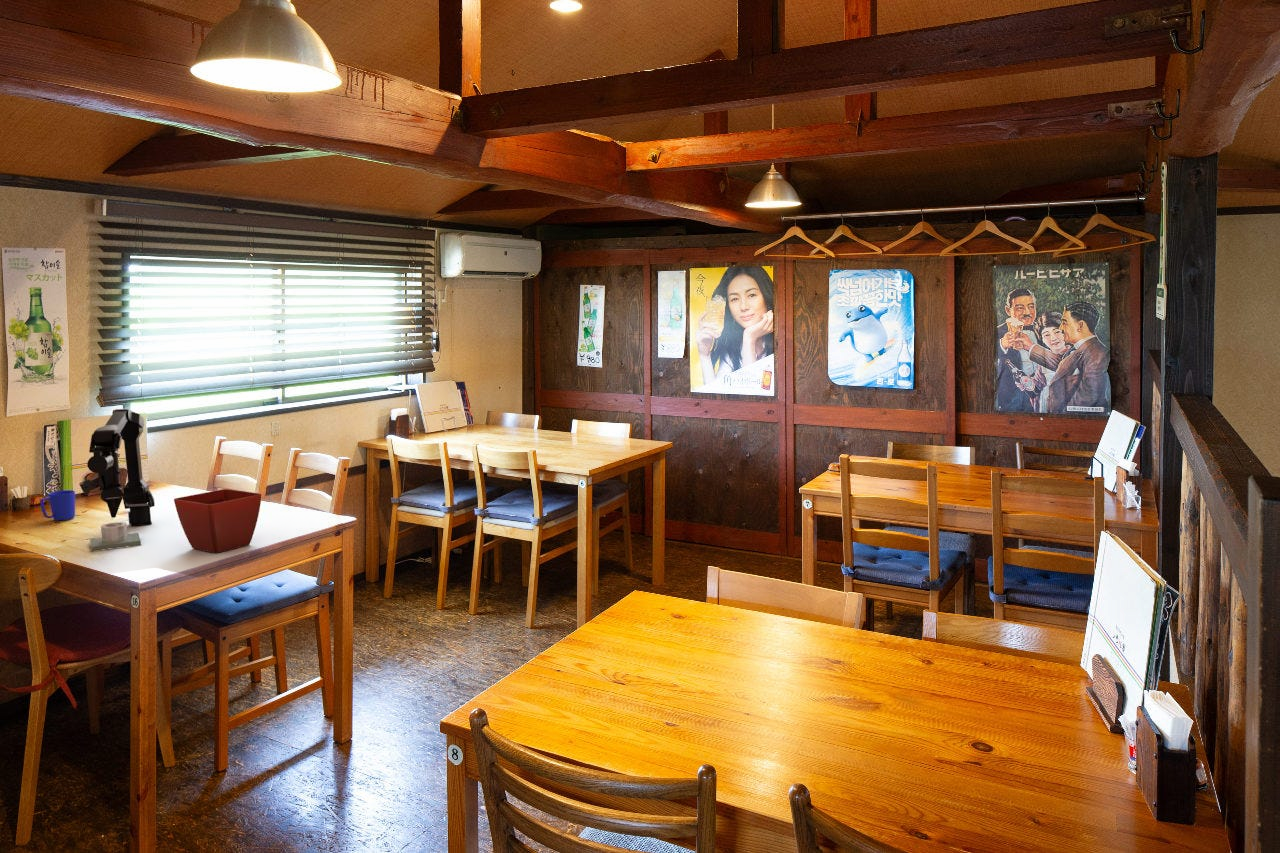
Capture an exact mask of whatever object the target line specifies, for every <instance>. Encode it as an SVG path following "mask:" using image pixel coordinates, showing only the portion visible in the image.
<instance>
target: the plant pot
mask: <svg viewBox="0 0 1280 853" xmlns="http://www.w3.org/2000/svg"><path fill="white" fill-rule="evenodd" d="M173 502H174V506H175V509H176V512H177V517H178V518H179V522H180V525H181V527H182V530H183V532H184V535H185V537H186V539H187V541H188V543H189V545H190V546H191V548H192V549H194V550H199V551H203V552H208V553H212V554H217V553H218V554H219V553H223V552H226V551H230V550H231V551H232V550H234V549H239V548H242V546H243V547H247V546H249V545H250V544H251V542H252V539H253V536H254V533H255V530H256V526H257V523H258V519H259V514H260V509H261V502H262V493H257V492H252V491H245V490H238V489H237V490H236V489H230V488H225V489H219V490H218V489H217V490H211V491H207V492H202V493H197V494H191V495H186V496H180V497H175V498H173ZM246 545H247V546H246Z"/></svg>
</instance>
